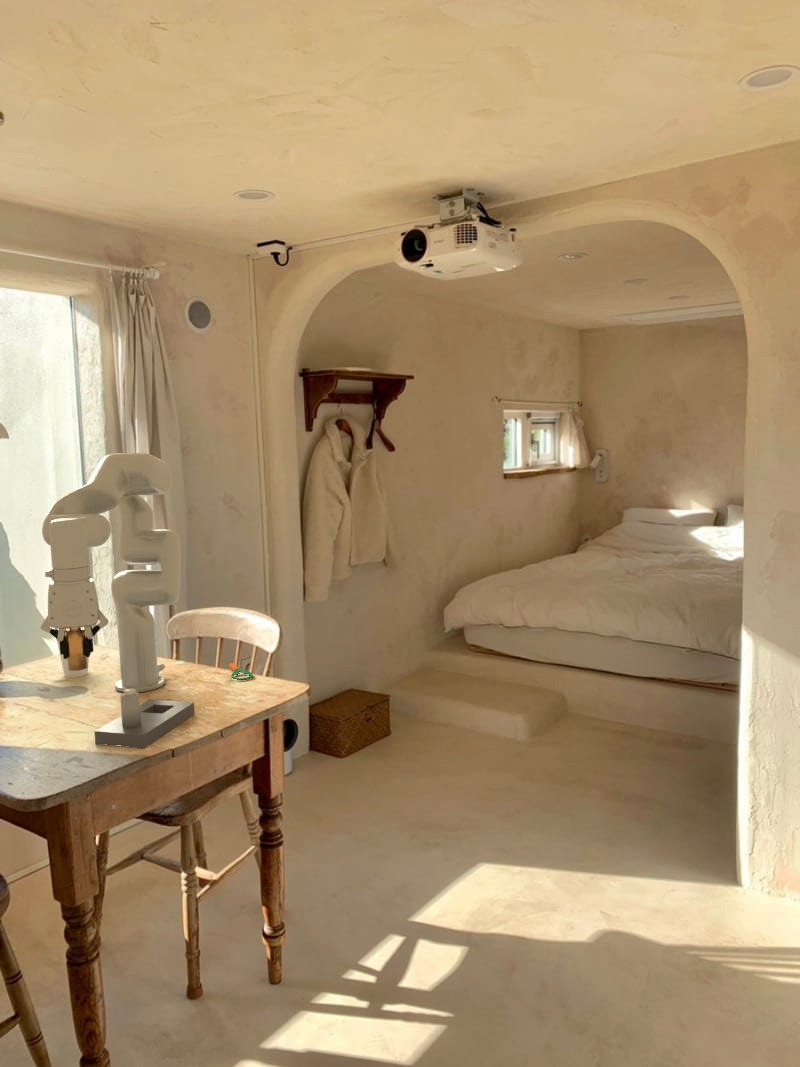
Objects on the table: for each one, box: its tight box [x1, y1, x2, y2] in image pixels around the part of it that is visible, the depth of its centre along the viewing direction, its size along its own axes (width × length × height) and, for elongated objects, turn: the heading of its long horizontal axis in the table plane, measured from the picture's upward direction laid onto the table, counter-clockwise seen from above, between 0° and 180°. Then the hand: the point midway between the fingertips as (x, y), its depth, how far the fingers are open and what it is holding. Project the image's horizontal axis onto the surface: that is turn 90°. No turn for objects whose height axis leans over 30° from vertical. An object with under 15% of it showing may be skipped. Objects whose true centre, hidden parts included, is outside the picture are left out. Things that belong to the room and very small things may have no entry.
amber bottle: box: [66, 627, 89, 671], centre depth 179 cm, size 4×4×10 cm
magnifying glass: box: [228, 662, 254, 681], centre depth 230 cm, size 15×6×2 cm, turn 25°
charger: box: [94, 689, 195, 749], centre depth 186 cm, size 22×12×11 cm, turn 166°
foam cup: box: [55, 627, 90, 678], centre depth 232 cm, size 10×9×13 cm
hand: (77, 655), depth 180 cm, fingers closed on amber bottle, 4 cm apart
